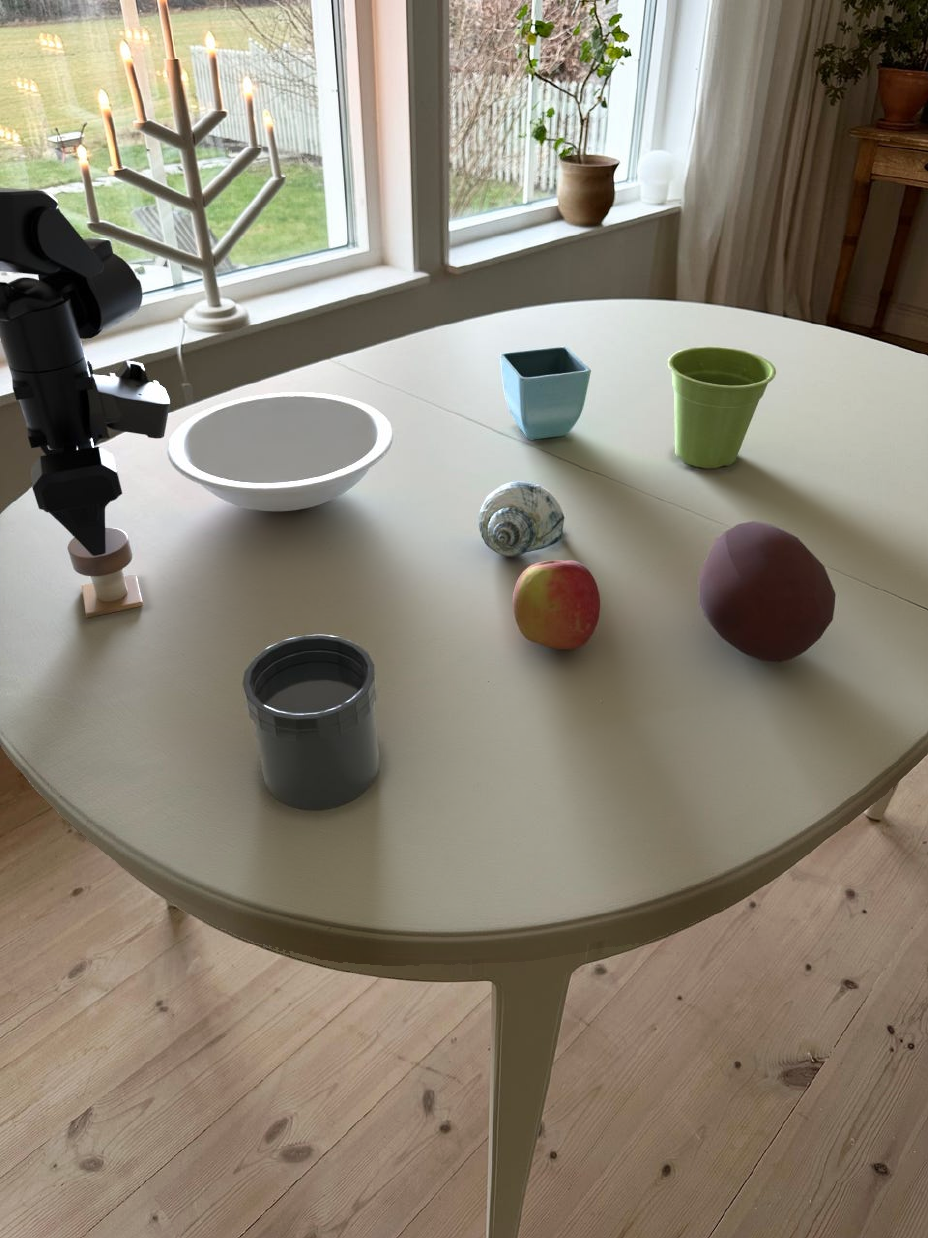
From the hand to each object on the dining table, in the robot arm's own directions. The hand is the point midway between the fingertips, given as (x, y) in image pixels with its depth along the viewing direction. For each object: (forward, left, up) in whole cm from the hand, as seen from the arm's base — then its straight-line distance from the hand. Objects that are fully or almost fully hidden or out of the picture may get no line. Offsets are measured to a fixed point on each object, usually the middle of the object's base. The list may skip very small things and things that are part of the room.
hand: (94, 528), depth 82 cm
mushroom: (0, 0, -7) cm, 7 cm away
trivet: (0, 0, -7) cm, 7 cm away
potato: (+51, -29, -8) cm, 59 cm away
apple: (+35, -22, -8) cm, 42 cm away
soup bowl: (+20, +14, -8) cm, 26 cm away
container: (+12, -29, -7) cm, 32 cm away
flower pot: (+53, +17, -8) cm, 56 cm away
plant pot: (+68, +3, -8) cm, 69 cm away
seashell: (+39, -6, -8) cm, 40 cm away
